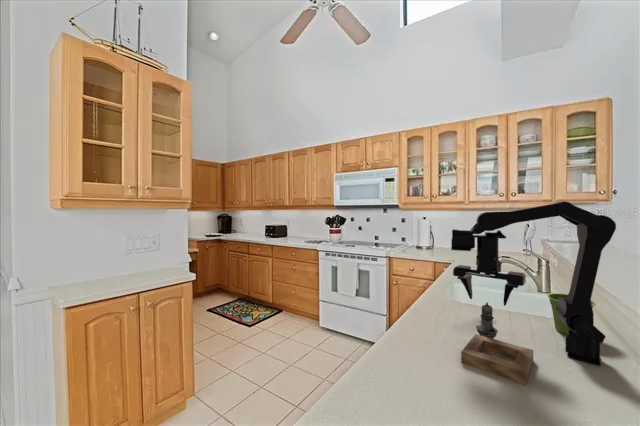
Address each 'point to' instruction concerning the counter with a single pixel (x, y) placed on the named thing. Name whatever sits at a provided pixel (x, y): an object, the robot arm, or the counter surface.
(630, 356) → the counter surface
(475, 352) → the well block
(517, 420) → the counter surface
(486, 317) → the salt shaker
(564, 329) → the plant pot
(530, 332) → the counter surface
